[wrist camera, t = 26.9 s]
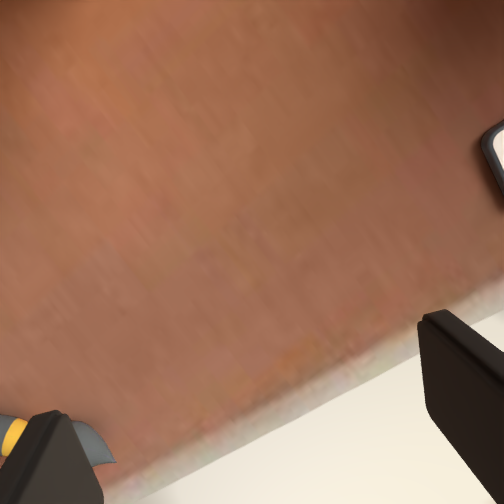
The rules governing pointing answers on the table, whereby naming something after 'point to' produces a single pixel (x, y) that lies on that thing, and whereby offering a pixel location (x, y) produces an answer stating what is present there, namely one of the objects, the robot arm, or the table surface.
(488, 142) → the phone case
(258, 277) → the table surface
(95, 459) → the paintbrush
